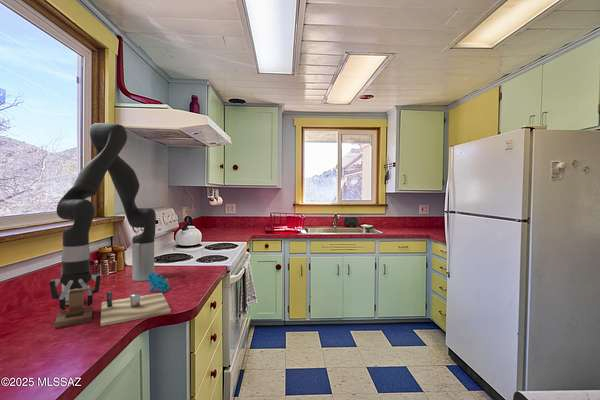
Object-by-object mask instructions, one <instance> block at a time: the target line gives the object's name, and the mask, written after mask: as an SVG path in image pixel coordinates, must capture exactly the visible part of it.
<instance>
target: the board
mask: <svg viewBox="0 0 600 400" xmlns="http://www.w3.org/2000/svg"><path fill="white" fill-rule="evenodd" d="M170 307H171V306H170V305H169V304H168V302H167V300H166V298H165V296H164V294H163V292H161V293H160V292H157V293H151V294H147V295H140V306H139V307H135V308H131V307H130V297H127V298H120V299H115V300H112V306H111V307H107V301H103V302H101V308H100V309H101V310H100V327H104V326H109V325H115V324H120V323H125V322H131V321H135V320H140V319H146V318H151V317H156V316H161V315H165V314H167V315H168V314H171V313H172V309H171V308H170Z"/></svg>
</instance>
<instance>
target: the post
mask: <svg viewBox="0 0 600 400" xmlns="http://www.w3.org/2000/svg"><path fill="white" fill-rule="evenodd" d="M140 296H141V293H137V292H136V293H132V294H130V296H129V298H130V307H131V308H135V307H139V306H140Z"/></svg>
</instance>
